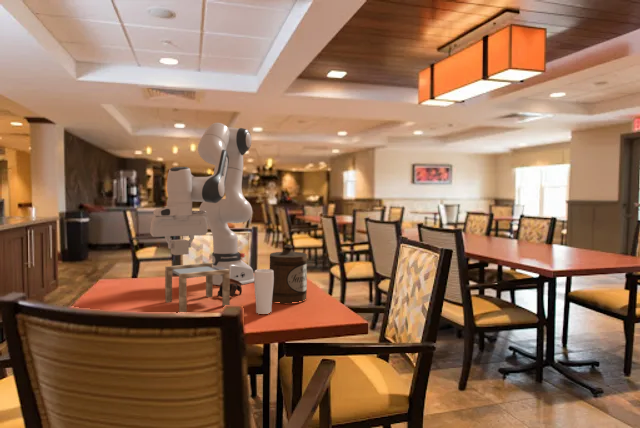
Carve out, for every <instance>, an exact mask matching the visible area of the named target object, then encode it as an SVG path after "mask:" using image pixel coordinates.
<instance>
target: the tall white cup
mask: <svg viewBox="0 0 640 428" xmlns="http://www.w3.org/2000/svg"><path fill="white" fill-rule="evenodd" d="M253 274H254V282H253V285H254V286H253V287H254V295H255V297H254V298H255V313H256V314H257V313H258V314H257V315H259V314H268V313H270V312H271V313H272V312H273V311H272V310H273V309H272V305H273V302H272V296H273V285H274V271H273V270H271V269H270V268H261V269H260V268H259V269H255V270H253ZM271 313H270V314H271ZM268 315H269V314H268Z"/></svg>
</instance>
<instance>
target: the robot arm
mask: <svg viewBox="0 0 640 428" xmlns="http://www.w3.org/2000/svg"><path fill="white" fill-rule="evenodd" d="M251 146H252V134H251V132H250V131H249V129H246V128H242V127H239V128H238V127H231V126H229V127H228V126H227V125H225V124H224V123H221V122H214V123H211V124H210V125H209V126H208V128H207V129H206V130H205V132H204V133H203V135H202V137H201V138H200V140H199V142H198V145H197V153H198V155H199V157H200V158H201V159H202V160H203V161H204V162H206V163H207V164H210V165H214V170H213V174H212V175H209V176H195V175H193V174H192V171H191V170H192V169H191V168H190V167H189V166H174V167H171V168H169V170H168V173H167V179H166V192H167V200H166V206H161V207H159V208H156V209H154V210H153V212H152V213H153V217H152V218H151V221H150V228H149V233H150V235H151V236H152V238H160V237H161V238H162V237H164V240H165V241H166V243H167V247H168V250H169V249H170V250H171V249H173V244H172V243H171V237H183V236H184V237H185V236H187V237H188V238H189V239H188V241H189V249H190V248H192V242H193V241H194V239H195V236H203V235H207V233H208V227H209V229H210V231H211V235H212V243H213V244H212V245H213V248H212V249H213V250H212V251H213V252H212V255H211V256H212V257H211V263H212V267H223V268H226V269H229V274H230V279H234V280H237V281H239V282H240V283H242V285H246V284H252V283H253V284H254V270H253V268H252V267H251V266H250V265H249V264H247V263H246V262H245V261H243V260H242V259H243V258H245V257H246V255H245V253H243V252H239V251H238V249H239V248H238V247H239V246H238V240H239V238H238V235H237V233H236V232H235V231H233V230H231V228H230V227H229V224H240V223H245V222H248V221H249V220H250V219H251V218H252V216H253V215H252V214H253V207H252V205H251V203H250V202H249V201H248V200H247V199H246V198H245V196H244V193H243V190H242V189H243V188H242V183H243V173H244V155H245V154H246V152H248V150H250V148H251ZM224 196H225V198H224ZM193 202H198V203H200V202H201V204H200V206H199V208H198V209H199V210H193ZM221 283H222V276H221V275H213V285H215V286H216V285H217V286H220V284H221Z"/></svg>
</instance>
